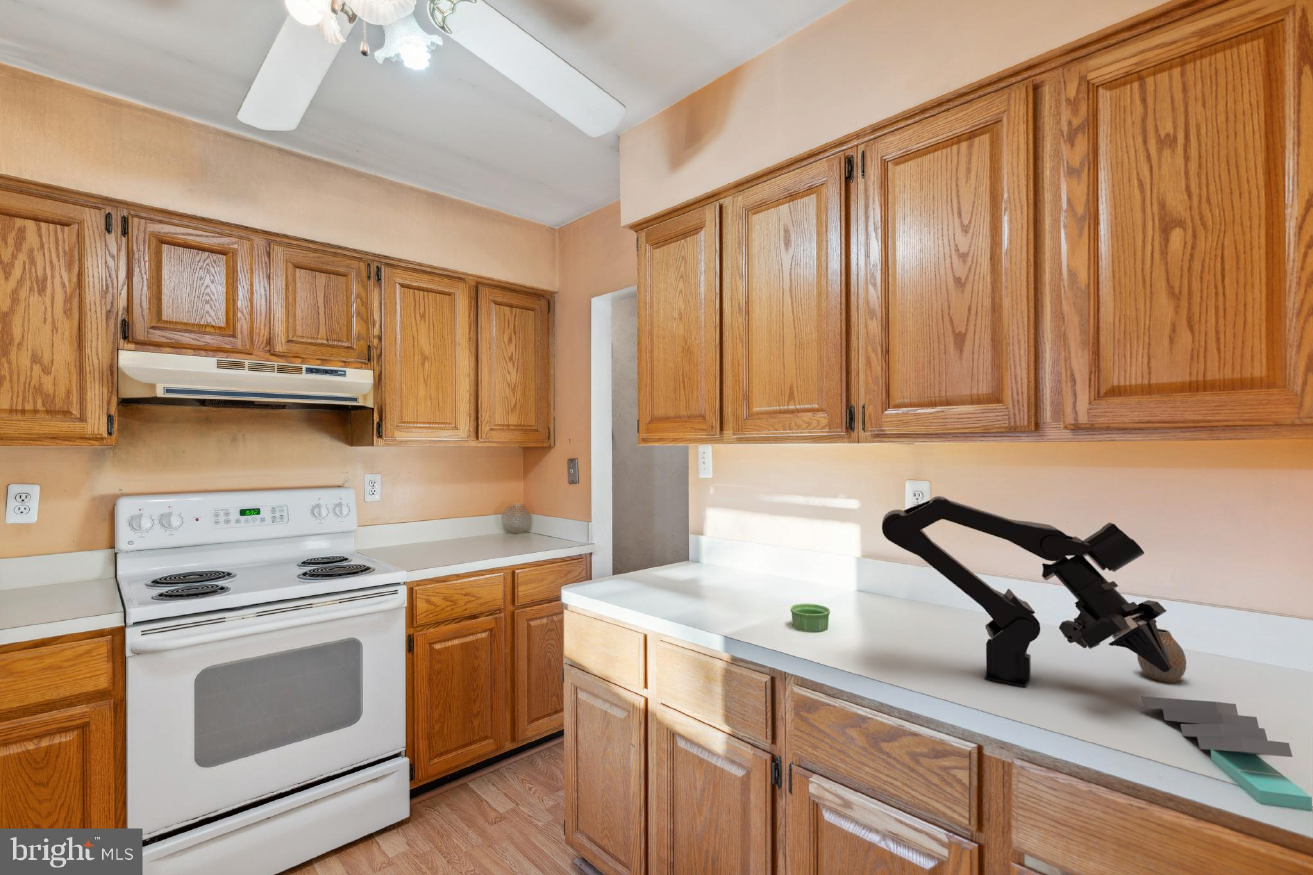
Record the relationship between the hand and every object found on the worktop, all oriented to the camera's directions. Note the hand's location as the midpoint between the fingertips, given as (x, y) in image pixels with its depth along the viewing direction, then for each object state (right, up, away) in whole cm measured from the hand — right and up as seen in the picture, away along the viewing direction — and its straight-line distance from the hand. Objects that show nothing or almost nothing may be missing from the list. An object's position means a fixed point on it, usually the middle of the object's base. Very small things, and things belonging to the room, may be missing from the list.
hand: (1168, 670), depth 96 cm
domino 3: (-1, -6, -7) cm, 9 cm away
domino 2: (0, -6, -2) cm, 7 cm away
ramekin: (-45, -8, +46) cm, 65 cm away
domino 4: (-2, -6, -11) cm, 13 cm away
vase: (+11, -7, +14) cm, 20 cm away
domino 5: (-3, -6, -14) cm, 16 cm away
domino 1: (-1, -6, +2) cm, 6 cm away
